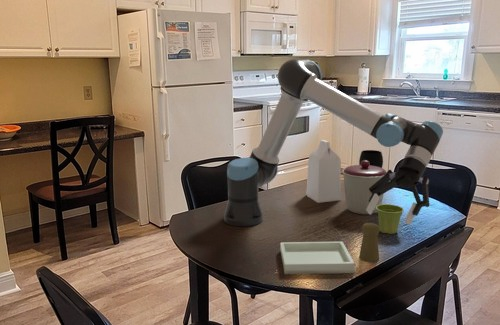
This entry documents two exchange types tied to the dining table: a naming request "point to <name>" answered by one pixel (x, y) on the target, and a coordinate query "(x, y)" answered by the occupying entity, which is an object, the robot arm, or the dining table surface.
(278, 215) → the dining table surface
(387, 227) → the plant pot
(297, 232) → the dining table surface
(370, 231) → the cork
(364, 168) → the canister
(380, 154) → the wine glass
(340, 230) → the dining table surface
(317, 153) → the milk
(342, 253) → the tray
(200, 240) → the dining table surface
